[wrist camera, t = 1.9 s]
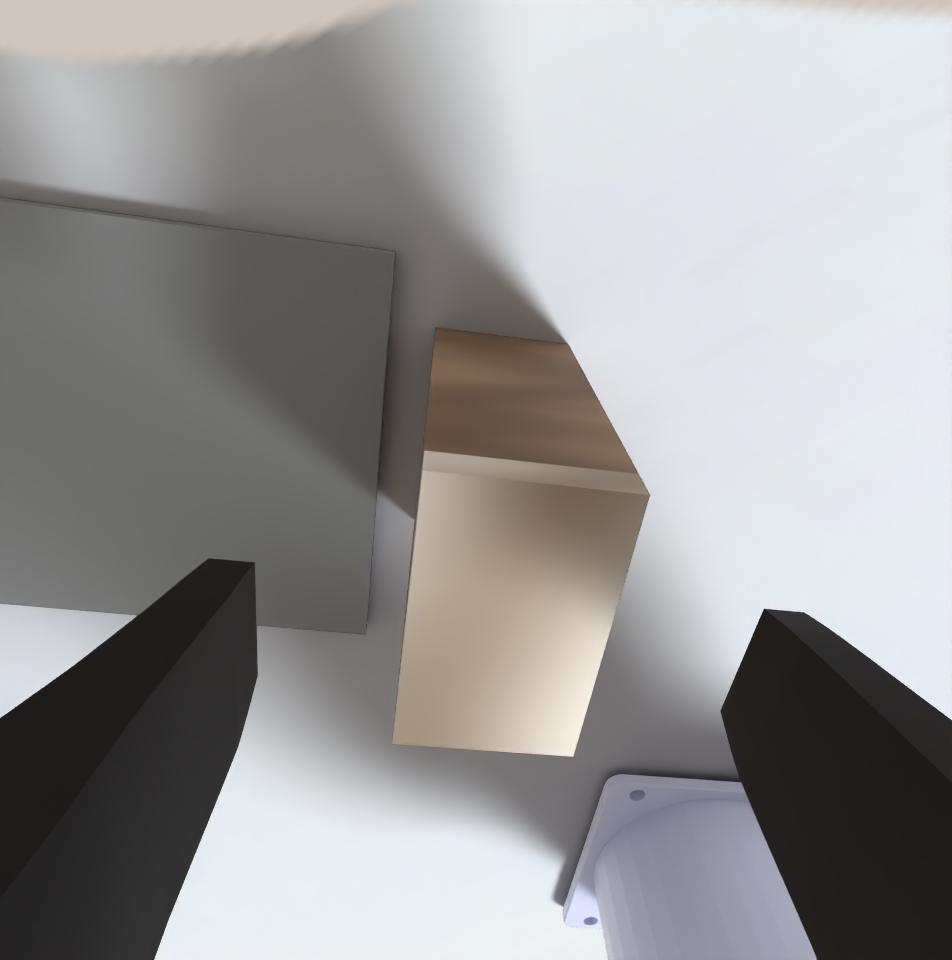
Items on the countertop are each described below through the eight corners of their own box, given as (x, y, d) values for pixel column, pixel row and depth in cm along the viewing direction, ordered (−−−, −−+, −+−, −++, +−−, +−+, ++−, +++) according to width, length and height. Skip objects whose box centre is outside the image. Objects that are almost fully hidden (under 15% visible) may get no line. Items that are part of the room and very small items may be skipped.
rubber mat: (395, 251, 14) (393, 254, 13) (366, 624, 18) (365, 634, 18) (-344, 150, 13) (-366, 150, 12) (-177, 578, 17) (-191, 587, 17)
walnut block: (567, 344, 15) (650, 494, 9) (529, 531, 17) (573, 757, 11) (435, 327, 15) (422, 470, 8) (414, 520, 17) (392, 744, 11)
